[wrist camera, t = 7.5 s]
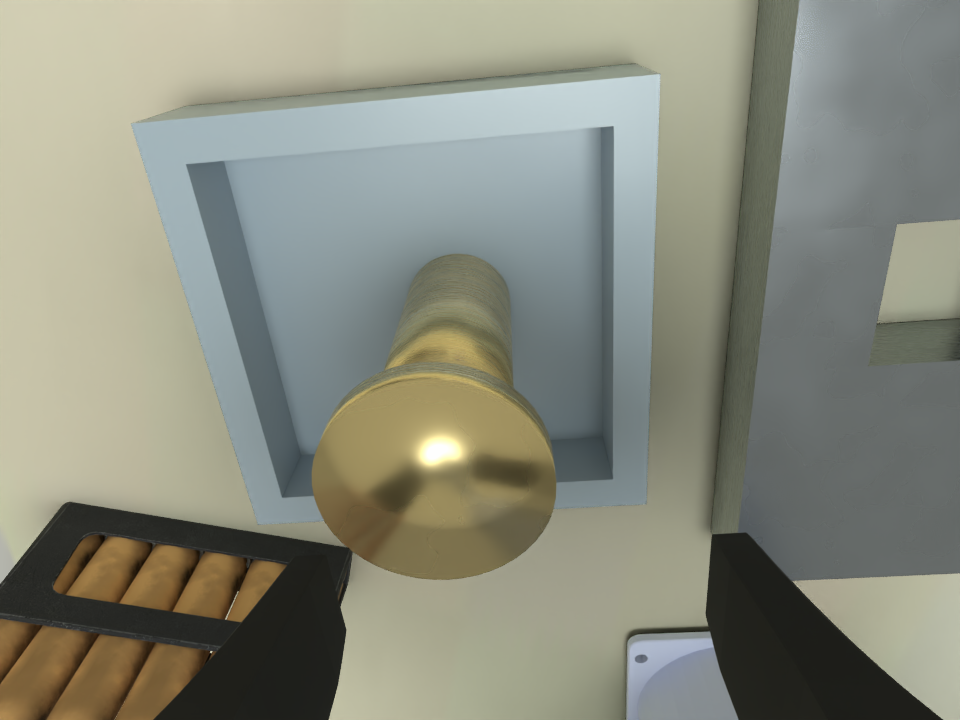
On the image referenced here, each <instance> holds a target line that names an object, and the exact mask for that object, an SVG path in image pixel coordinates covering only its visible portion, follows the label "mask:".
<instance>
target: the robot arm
mask: <svg viewBox="0 0 960 720" xmlns="http://www.w3.org/2000/svg"><path fill="white" fill-rule="evenodd" d="M706 618H707V622H708V626H709V630H710V631H709V632H684V633H659V634H639V635H635V636H633V637H631V638H630V639H629V640H628V643H627V689H626V720H943V719H941V718H940V717H939V716H938V715H936V714H935V713H934V712H933V711H931V710H930V709H929V708H928V707H926V706H925V705H924V704H923V703H922V702H920V701H919V700H918V699H917V698H915V697H914V696H913V695H912V694H910V693H909V692H908V691H907V690H906V689H904V688H903V687H902V686H901V685H900V684H899V683H897V682H896V681H895V680H894V679H893V678H892V677H890V676H889V675H888V674H887V673H886V672H885V671H884V670H882V669H881V668H880V667H879V666H878V665H877V664H876V663H875V662H874V661H873V660H871V659H870V658H869V657H868V656H867V655H866V654H865V653H864V652H863V651H861V650H860V649H859V648H858V647H857V646H856V645H855V644H854V643H853V642H852V641H851V640H850V639H849V638H848V637H847V636H845V635H844V634H843V633H842V632H841V631H840V630H839V629H838V628H837V627H836V626H835V625H834V624H833V623H832V622H831V621H830V620H829V619H828V618H827V617H826V616H825V615H824V614H823V613H822V612H821V611H820V610H819V609H818V608H817V607H816V606H815V605H814V604H813V603H812V602H811V601H810V600H809V599H808V598H807V597H806V596H805V595H804V594H803V593H802V592H801V590H800V589H799V588H798V587H797V586H796V585H795V584H794V583H793V582H792V581H791V580H790V579H789V578H788V577H787V576H786V574H785V573H784V572H783V571H782V570H781V569H780V568H779V567H778V566H777V565H776V564H775V562H774V561H773V560H772V559H771V558H770V557H769V556H768V555H767V554H766V553H765V551H764V550H763V549H762V548H761V547H760V546H759V545H758V544H757V542H756V541H755V540H754V539H753V538H752V537H751V536H750V535H749V534H748V533H746V532H744V533H725V534H712V541H711V554H710V566H709V579H708V592H707V604H706ZM345 636H346V627H345V623H344V620H343V616H342V612H341V609H340V605H339V601H338V597H337V594H336V590H335V586H334V582H333V579H332V575H331V571H330V567H329V564H328V560H327V556H326V555H308V556H295V557H294V558H293V559H292V560H291V561H290V562H289V563H288V565H287V566H286V567H285V568H284V570H283V571H282V572H281V573H280V575H279V576H278V577H277V578H276V580H275V581H274V582H273V584H272V585H271V586H270V587H269V589H268V590H267V591H266V592H265V594H264V595H263V596H262V597H261V599H260V600H259V601H258V602H257V604H256V605H255V606H254V607H253V609H252V610H251V611H250V612H249V614H248V615H247V616H246V617H245V619H244V620H243V621H242V622H241V623H240V624H239V626H238V627H237V628H236V629H235V630H234V632H233V633H232V634H231V635H230V636H229V638H228V639H227V640H226V641H225V642H224V644H223V645H222V646H221V647H220V648H219V649H218V651H217V652H216V653H215V654H214V655H213V656H212V657H211V659H210V660H209V661H208V662H207V663H206V664H205V665H204V666H203V667H202V668H201V670H200V671H199V672H198V673H197V674H196V675H195V676H194V677H193V678H192V679H191V681H190V682H189V683H188V684H187V685H186V686H185V687H184V688H183V689H182V690H181V692H180V693H179V694H178V695H177V696H176V697H175V698H174V699H173V700H172V701H171V702H170V703H169V704H168V705H167V706H166V707H165V708H164V709H163V710H162V711H161V712H160V713H159V714H158V715H157V716H156V717H155V718H154V719H153V720H329V716H330V712H331V709H332V705H333V701H334V698H335V694H336V690H337V686H338V681H339V675H340V669H341V663H342V657H343V650H344V643H345Z"/></svg>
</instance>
